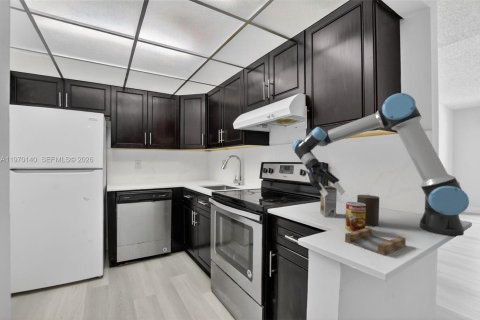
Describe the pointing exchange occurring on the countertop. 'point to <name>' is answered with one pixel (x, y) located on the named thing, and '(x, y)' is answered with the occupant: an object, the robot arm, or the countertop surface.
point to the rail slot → (374, 241)
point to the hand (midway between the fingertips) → (334, 194)
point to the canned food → (355, 216)
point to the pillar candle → (370, 209)
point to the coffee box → (329, 202)
